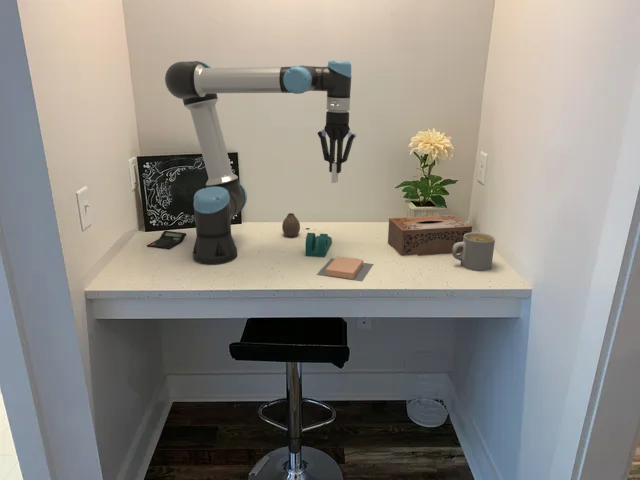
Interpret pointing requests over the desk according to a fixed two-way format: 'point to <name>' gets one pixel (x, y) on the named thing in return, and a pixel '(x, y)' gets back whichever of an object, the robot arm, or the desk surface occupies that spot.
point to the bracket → (317, 245)
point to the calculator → (168, 240)
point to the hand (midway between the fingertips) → (334, 181)
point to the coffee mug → (475, 251)
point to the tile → (344, 267)
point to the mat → (358, 277)
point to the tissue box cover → (426, 234)
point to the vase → (291, 225)
